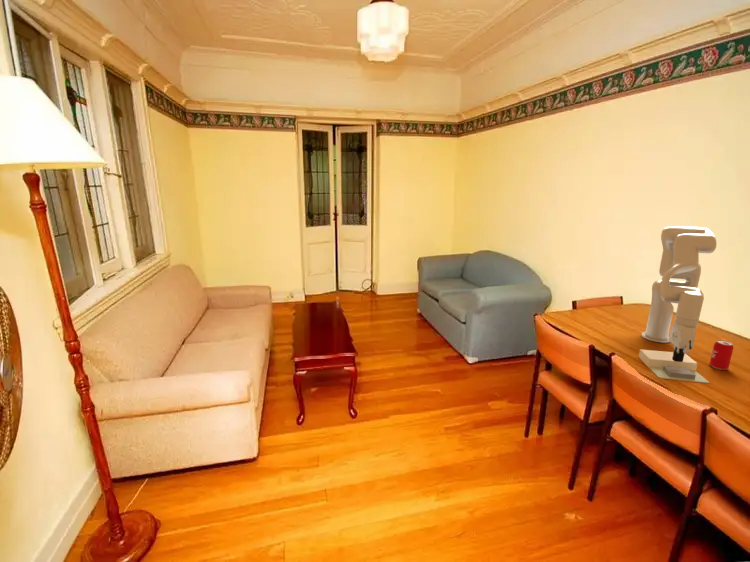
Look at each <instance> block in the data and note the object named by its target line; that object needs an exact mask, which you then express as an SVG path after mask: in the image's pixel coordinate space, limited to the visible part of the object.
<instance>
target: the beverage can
mask: <svg viewBox="0 0 750 562" xmlns="http://www.w3.org/2000/svg"><path fill="white" fill-rule="evenodd" d="M712 347H713V348H712V353H711V356H710V360H709V365H710V366H711V367H712V368H714V369H715V370H724V371H725V370H728V369H729V367H730V364H731V363H730V362H731V359H732V356H733V352H734V344H733V343H732V342H731V341H729V340H724V339H723V340H722V339H718V340H716V341H715V343H714V344H713V346H712Z"/></svg>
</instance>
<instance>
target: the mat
mask: <svg viewBox="0 0 750 562" xmlns="http://www.w3.org/2000/svg"><path fill="white" fill-rule="evenodd" d="M647 367H648V366H647ZM648 369H649V370H650V371H651V372H652V373H653V374H654V375H655V376H656V377H657V378H658V379H665V380H673V381H683V382H692V383H693V382H694V383H703V384H710V382H709V381H708V380H707V379H706V378H705V377H704V376H702V375H701V374H700V373H699V372H697V370H696V371H692V372H693V373H694V374H695V375H696V376H695V379H685V378H676V377H669V376H668V375H667V374H666V373H665V372H664V371H663V368H657V367H648Z"/></svg>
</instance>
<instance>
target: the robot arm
mask: <svg viewBox="0 0 750 562" xmlns="http://www.w3.org/2000/svg"><path fill="white" fill-rule="evenodd" d="M716 238H717V237H716V236H715V234H714V233H713V232H712V231H711V230H710V229H709V228H707V227H699V226H684V225H683V226H680V225H679V226H678V225H677V226H675V225H674V226H666V227H664V228H663V229H662V230H661V234H660V241H661V244H662V245H661V246H662V255H661V259H660V263H659V264H660V265H659V275H660V276H661V277H662V278H661V279H658V280H655V281H654V282H653V283H652V285H651V303H650V307H649V308H650V309H649V312H648V313H649V314H648V319H647V323H646V326H645V331H643V332H642V333H641V337H642V338H643V339H645V340H648V341H651V342H655V343H663V344H667V343H671V344H672V345H673V352H674V353H673V357H672V359H673V360H674V361H677V362H683V358H684V354H689V353H690V351H691V350H692V349H693V348H694V345H695V341H696V340H695V339H696V333H697V328H698V325H699V321H700V316H701V313H702V307H703V303H704V300H705V299H704V298H705V297H704V292H703V291H702V289H700V288H698V287H699V282H700V277H701V274H702V273H701V272H702V267H701V263H700V262H699V261H700V259H699V254H712V253H714V252H715V250H716V248H717V239H716ZM672 279H677V280H672ZM681 280H684V281H681ZM673 304H677V308H676V313H675V318H674V320H673V315H674V311H675V309H674V308H675V307H674V305H673ZM672 320H673V323H672ZM671 323H672V325H671Z"/></svg>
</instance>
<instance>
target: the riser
mask: <svg viewBox="0 0 750 562" xmlns="http://www.w3.org/2000/svg"><path fill="white" fill-rule="evenodd" d="M673 353H674V351H662V350H661V351H660V350H653V349H652V350H650V349H639V354H638V358H639V359H640V361H642V363H644V365H646V367H657V368H663V367H664V366H669V367H679V368H688V369H689V370H690V371H696V372H697V367H698V362H697V361H695V360H694V359H692V357H690V356H689V355H687V353H685V354H684V358H683V362H677V361H674V360H673V359H672V357H673Z"/></svg>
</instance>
